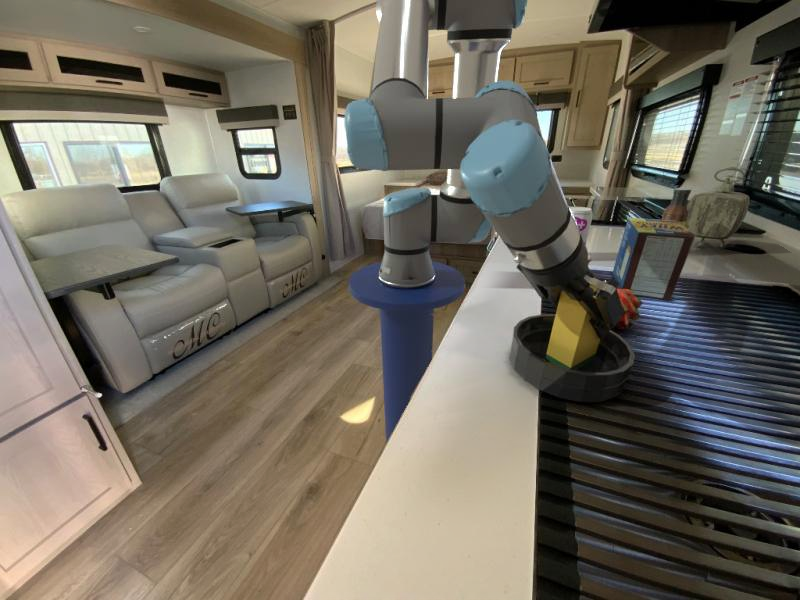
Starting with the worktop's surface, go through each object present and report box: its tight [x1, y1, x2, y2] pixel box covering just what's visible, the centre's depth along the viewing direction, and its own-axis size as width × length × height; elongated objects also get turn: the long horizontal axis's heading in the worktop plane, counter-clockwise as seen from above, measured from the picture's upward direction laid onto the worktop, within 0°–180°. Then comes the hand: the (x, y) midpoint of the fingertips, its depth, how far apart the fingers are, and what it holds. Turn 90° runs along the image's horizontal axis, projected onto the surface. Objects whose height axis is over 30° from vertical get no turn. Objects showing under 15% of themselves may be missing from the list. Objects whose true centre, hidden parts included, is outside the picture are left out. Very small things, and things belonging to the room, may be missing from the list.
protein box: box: [612, 217, 696, 301], centre depth 81 cm, size 10×15×16 cm
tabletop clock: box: [685, 167, 751, 249], centre depth 108 cm, size 14×9×25 cm, turn 40°
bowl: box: [509, 313, 636, 403], centre depth 54 cm, size 17×17×6 cm
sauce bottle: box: [660, 187, 692, 227], centre depth 104 cm, size 6×6×20 cm
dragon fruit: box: [610, 287, 643, 331], centre depth 66 cm, size 8×8×12 cm
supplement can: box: [569, 206, 594, 246], centre depth 102 cm, size 8×8×15 cm
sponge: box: [545, 291, 600, 370], centre depth 53 cm, size 4×7×13 cm, turn 122°
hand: (589, 325), depth 55 cm, fingers closed on sponge, 4 cm apart
